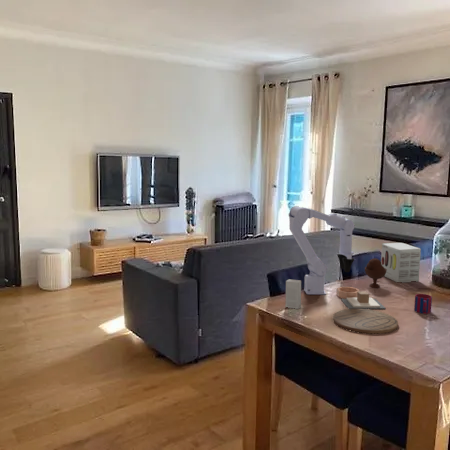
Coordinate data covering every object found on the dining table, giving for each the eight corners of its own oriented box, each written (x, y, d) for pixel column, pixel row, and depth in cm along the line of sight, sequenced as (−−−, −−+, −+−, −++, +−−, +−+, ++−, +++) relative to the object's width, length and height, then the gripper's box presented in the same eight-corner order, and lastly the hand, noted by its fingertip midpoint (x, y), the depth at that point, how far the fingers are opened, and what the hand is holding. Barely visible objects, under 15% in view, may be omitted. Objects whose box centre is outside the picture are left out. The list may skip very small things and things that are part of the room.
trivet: (320, 320, 189) (320, 316, 189) (359, 309, 204) (359, 304, 204) (371, 340, 170) (372, 335, 169) (410, 325, 184) (411, 321, 184)
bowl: (340, 299, 217) (340, 292, 216) (335, 292, 227) (335, 286, 226) (361, 299, 217) (361, 292, 217) (355, 292, 227) (355, 286, 226)
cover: (353, 307, 203) (354, 296, 202) (346, 299, 215) (346, 289, 214) (379, 307, 203) (380, 296, 203) (371, 299, 215) (371, 289, 214)
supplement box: (379, 274, 261) (381, 243, 259) (400, 273, 264) (402, 242, 262) (397, 283, 245) (399, 249, 242) (419, 281, 248) (421, 248, 245)
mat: (348, 309, 203) (349, 307, 202) (341, 299, 215) (341, 298, 215) (385, 309, 203) (385, 307, 203) (375, 299, 216) (375, 298, 216)
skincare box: (301, 306, 206) (301, 280, 204) (298, 309, 202) (299, 282, 200) (287, 304, 208) (288, 278, 207) (284, 307, 205) (285, 281, 203)
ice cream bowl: (389, 289, 232) (390, 260, 230) (366, 289, 232) (368, 260, 230) (382, 283, 243) (384, 255, 240) (361, 283, 243) (362, 255, 241)
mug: (430, 309, 202) (431, 294, 201) (431, 317, 193) (432, 301, 192) (414, 307, 205) (415, 293, 204) (414, 315, 196) (415, 299, 195)
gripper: (358, 245, 220) (357, 273, 222) (349, 240, 234) (349, 266, 236) (343, 246, 220) (342, 274, 222) (335, 240, 234) (335, 266, 236)
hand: (345, 270), depth 229 cm, fingers open, 7 cm apart
